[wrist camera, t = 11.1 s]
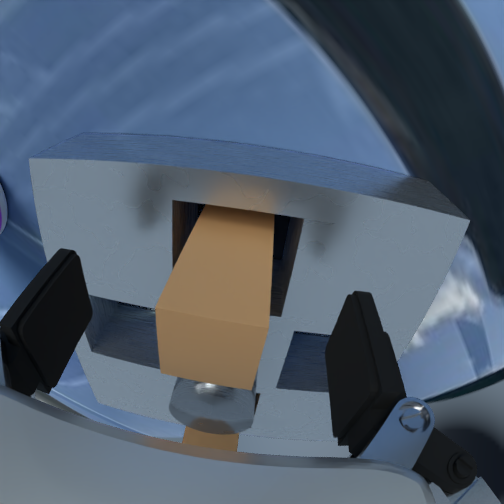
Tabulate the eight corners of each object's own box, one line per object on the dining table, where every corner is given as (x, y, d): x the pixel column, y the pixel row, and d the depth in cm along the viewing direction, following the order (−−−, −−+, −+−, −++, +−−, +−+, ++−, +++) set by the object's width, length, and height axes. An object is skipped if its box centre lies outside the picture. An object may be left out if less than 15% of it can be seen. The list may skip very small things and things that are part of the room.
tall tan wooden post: (207, 337, 23) (178, 458, 15) (249, 343, 23) (234, 467, 15) (206, 362, 25) (182, 473, 17) (245, 368, 25) (230, 481, 17)
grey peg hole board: (82, 133, 16) (-31, 192, 8) (428, 181, 16) (517, 272, 8) (117, 359, 26) (82, 441, 19) (334, 393, 26) (340, 483, 19)
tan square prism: (216, 183, 17) (154, 307, 9) (275, 192, 17) (269, 327, 9) (211, 234, 19) (160, 372, 10) (265, 243, 19) (251, 390, 10)
